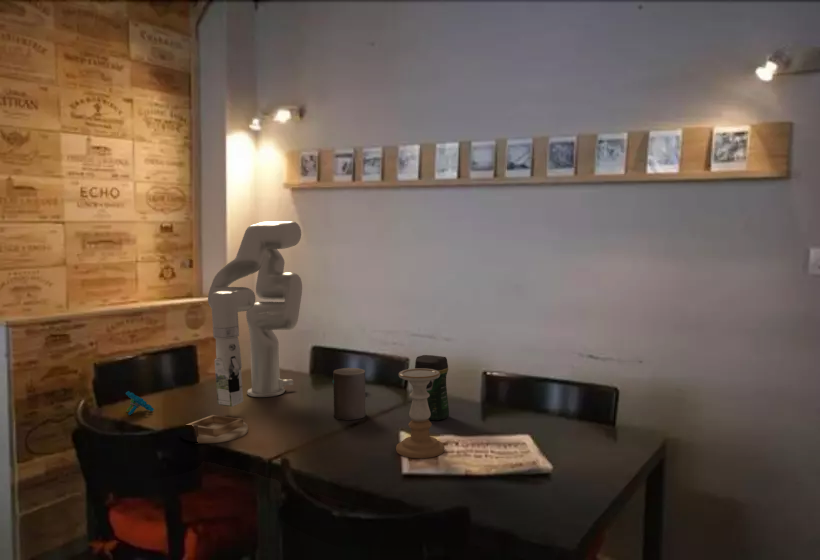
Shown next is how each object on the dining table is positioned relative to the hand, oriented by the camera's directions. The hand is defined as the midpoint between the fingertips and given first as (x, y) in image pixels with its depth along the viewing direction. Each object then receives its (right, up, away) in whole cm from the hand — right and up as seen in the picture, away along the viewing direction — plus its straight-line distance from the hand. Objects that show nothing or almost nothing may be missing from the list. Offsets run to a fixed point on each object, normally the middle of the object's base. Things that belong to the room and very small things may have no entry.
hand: (229, 388), depth 210 cm
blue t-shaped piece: (-29, -9, +4) cm, 31 cm away
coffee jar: (+62, -8, -5) cm, 62 cm away
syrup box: (0, -5, +1) cm, 5 cm away
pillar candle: (+37, -8, -2) cm, 38 cm away
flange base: (+1, -10, -18) cm, 20 cm away
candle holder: (+58, -11, -35) cm, 69 cm away
